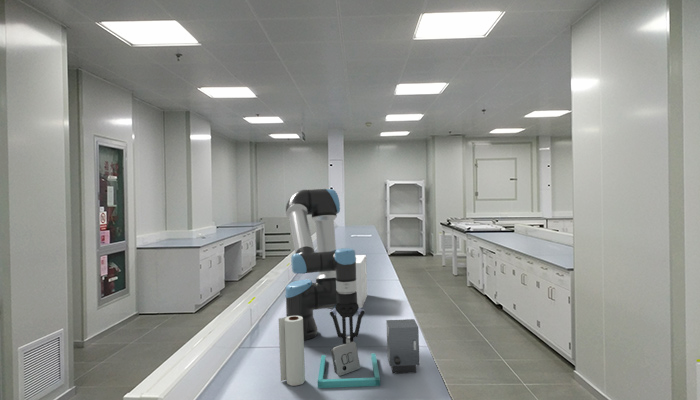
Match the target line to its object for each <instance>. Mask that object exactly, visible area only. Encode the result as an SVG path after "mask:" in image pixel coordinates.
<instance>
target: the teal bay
mask: <svg viewBox="0 0 700 400" xmlns="http://www.w3.org/2000/svg"><path fill="white" fill-rule="evenodd" d="M370 357H371V358H370V359H371V365H372V373H373V377H355V378H354V377H353V378H351V377H350V378H325V377H324V376H325V372H326V371H325V370H326V369H325V368H326V360H327V359H326V358H327V356H326V354H321V357H320V363H319V370H318V376H317V389H327V388H329V389H331V388H351V387H352V388H354V387H357V388H358V387H379V386H381V378H380V372H379V366H378V362H377V355H376V352H375V353H373V352H372V353H370Z"/></svg>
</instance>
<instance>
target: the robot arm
mask: <svg viewBox="0 0 700 400" xmlns="http://www.w3.org/2000/svg"><path fill="white" fill-rule="evenodd" d="M340 203H341V202H340V199H339V195H338V193H337V192H336V190H335V189H333V188H329V189H328V188H320V189H319V188H316V189H315V188H314V189H301V190H297V191H296V192H295V193H293V194H292V195H291V196H290V198H289V199H288V201H287V202H286V205H285V214H286V215H285V216H286V218H287V219H288V220H289V224H290V225H289V226H290V230H291V236H292V243H293V249H294V253H292V255H291V257H290V258H291V260H290V261H291V264H290V265H291V270H292V271H291V272H292V273H294V274H302V275H303V274H311V273H318V275H317V276H316V278H315V282H313V281H312V280H311V279H299V280H294V281H292V282H289V284H287V285H286V287H285V295H284V296H285V302H286V303H285V306H286V307H285V312H286V315H285V317H288V316H301V317H303V335H304V341H308V340H312V339H313V338H316V336H318V330H319V329H318V325H317V324H316V321H315V317H314V311H315V310H324V309H325V310H326V309H331V310H329V315H330V316H331V319H332V320H333V325H334V328H335V331H336V335H337V338H341V339H342V345H343V344H346V343H349V342H354V338H357V337H359V333H360V328H361V323H362V319H363V316H364V315H365V312H366V311H365V309H364V308H359V306H358V304H357V292H356V290H357V283H356V255H357V254H356V250H355V249H354V248H348V247H345V248H337V246H336V245H337V243H336V234H335V233H336V232H335V231H336V230H335V220H336V218H337V216H338V214H339V213H340V210H341V204H340ZM309 215H310V216H311V219H312V221H314V223H315V234H316V235H315V236H316V248H317V249H316V251H317V252H315V248H314V243H313V238H312V234H311V230H310V226H309V225H310V224H309V222H308V216H309ZM356 313H357V314H358V315H357V320H356V324H355V331H354V327H353V326H354V324H353V323H354V322H353V321H354V319H353V318H354V316H355V315H356ZM338 314H339V316H340V317H341V321H342V322H341V324H342V325H341V326H342V330H341V328H340V325H339V324H340V323H339V321H338V317H337V315H338ZM346 318H348V322H349V336H347V323H346V321H347V319H346ZM341 331H342V332H341Z"/></svg>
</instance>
